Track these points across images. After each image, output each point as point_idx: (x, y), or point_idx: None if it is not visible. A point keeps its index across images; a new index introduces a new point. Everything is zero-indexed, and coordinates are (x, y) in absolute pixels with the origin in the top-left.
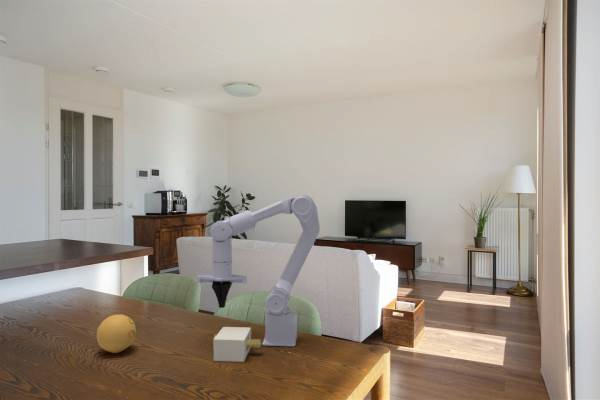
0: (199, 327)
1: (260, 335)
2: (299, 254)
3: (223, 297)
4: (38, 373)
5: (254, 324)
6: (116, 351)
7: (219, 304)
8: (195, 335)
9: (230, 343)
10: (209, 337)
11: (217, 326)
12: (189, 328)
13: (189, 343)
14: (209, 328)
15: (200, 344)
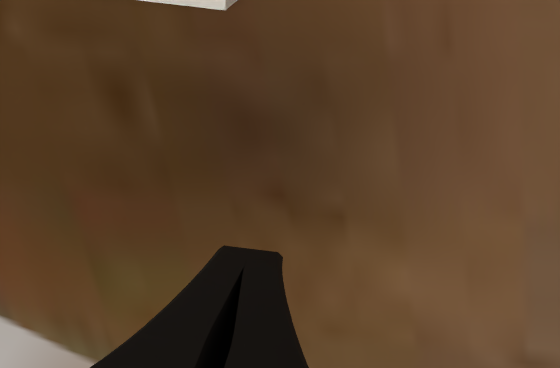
0: (475, 353)
1: (39, 191)
2: None
3: (171, 329)
4: None
5: None
6: None
7: (267, 270)
8: (497, 220)
9: None
10: (389, 177)
11: (354, 357)
12: (545, 343)
13: (542, 61)
14: (404, 331)
15: (448, 35)
